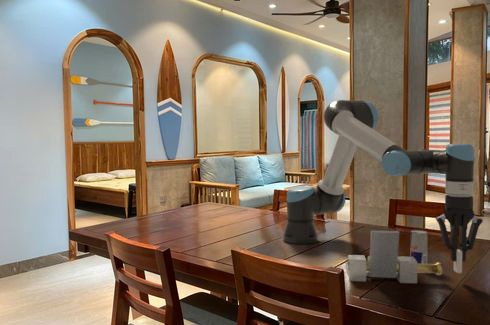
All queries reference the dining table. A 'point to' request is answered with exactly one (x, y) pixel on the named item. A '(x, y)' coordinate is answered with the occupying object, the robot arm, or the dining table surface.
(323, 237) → the dining table surface
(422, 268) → the pin
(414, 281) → the hinge knuckle blocks
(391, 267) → the leaf loose
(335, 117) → the robot arm
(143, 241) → the dining table surface
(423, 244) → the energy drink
